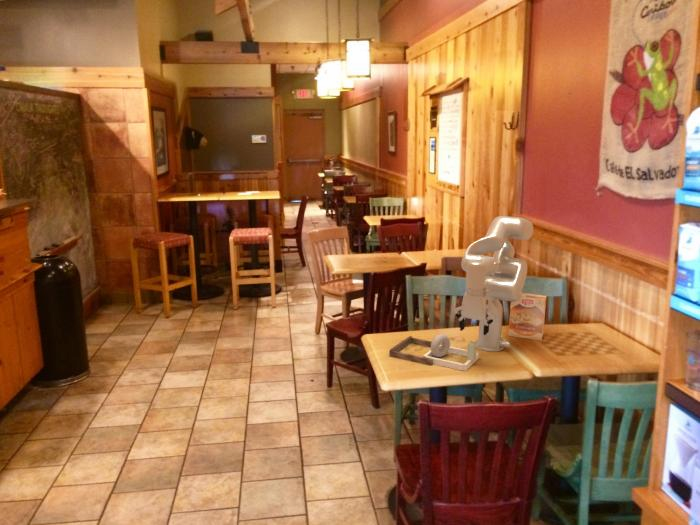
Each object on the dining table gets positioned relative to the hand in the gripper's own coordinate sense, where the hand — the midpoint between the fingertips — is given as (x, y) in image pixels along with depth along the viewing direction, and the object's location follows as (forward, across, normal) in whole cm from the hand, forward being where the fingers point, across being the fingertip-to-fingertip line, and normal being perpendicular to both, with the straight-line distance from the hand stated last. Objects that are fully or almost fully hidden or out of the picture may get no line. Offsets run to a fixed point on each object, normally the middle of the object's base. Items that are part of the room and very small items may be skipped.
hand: (473, 331), depth 237 cm
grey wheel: (+14, +14, +1) cm, 20 cm away
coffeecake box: (+16, -10, -45) cm, 48 cm away
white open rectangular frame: (+14, +9, +2) cm, 16 cm away
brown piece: (+14, +23, +2) cm, 26 cm away
